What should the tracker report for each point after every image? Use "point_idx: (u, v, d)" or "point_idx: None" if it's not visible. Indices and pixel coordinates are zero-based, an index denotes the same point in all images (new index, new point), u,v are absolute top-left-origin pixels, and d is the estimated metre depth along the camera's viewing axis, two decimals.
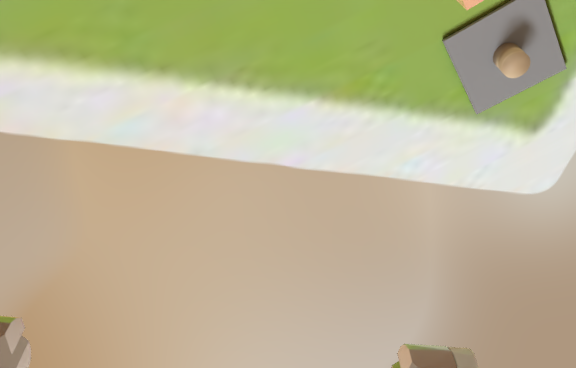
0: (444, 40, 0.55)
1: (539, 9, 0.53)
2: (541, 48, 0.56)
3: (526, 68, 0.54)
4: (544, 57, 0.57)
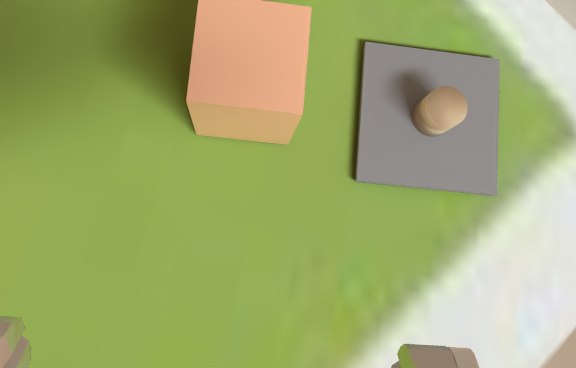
0: (356, 178, 0.36)
1: (394, 54, 0.38)
2: (450, 74, 0.38)
3: (460, 96, 0.35)
4: (465, 76, 0.38)
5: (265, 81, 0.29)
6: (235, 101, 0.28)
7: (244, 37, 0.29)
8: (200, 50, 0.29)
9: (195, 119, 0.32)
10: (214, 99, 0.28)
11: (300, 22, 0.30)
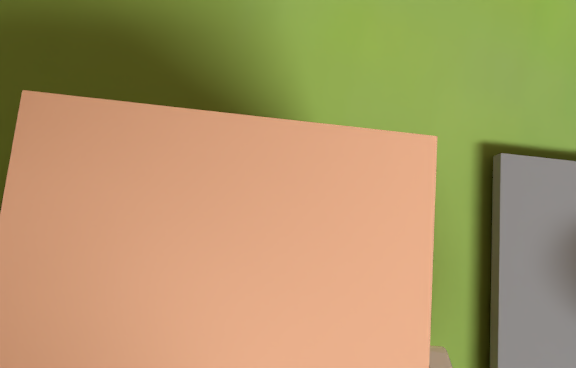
0: None
1: (566, 181, 0.17)
2: None
3: None
4: None
5: None
6: None
7: (192, 265, 0.08)
8: (14, 330, 0.07)
9: None
10: None
11: (400, 195, 0.08)
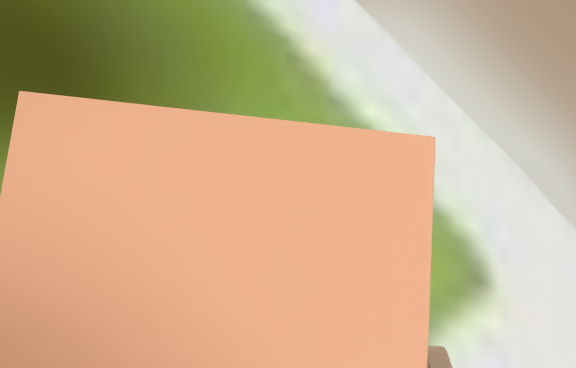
0: None
1: None
2: None
3: None
4: None
5: None
6: None
7: (189, 267, 0.08)
8: (11, 332, 0.07)
9: None
10: None
11: (398, 196, 0.08)
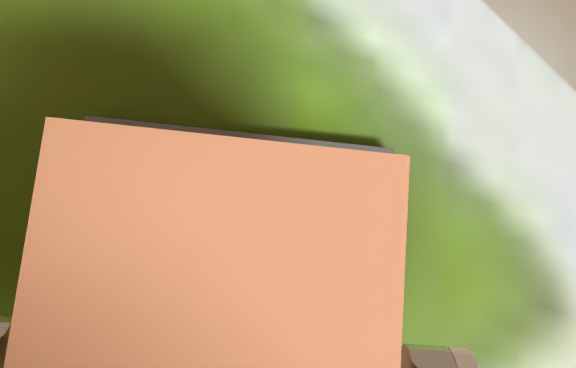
0: None
1: None
2: None
3: None
4: None
5: None
6: None
7: (194, 270, 0.09)
8: (41, 325, 0.08)
9: None
10: None
11: (376, 208, 0.09)
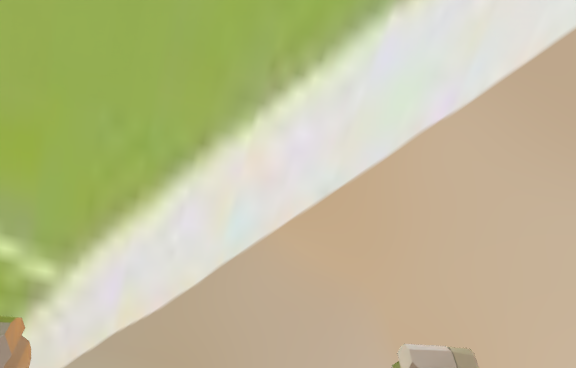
0: None
1: None
2: None
3: None
4: None
5: None
6: None
7: None
8: None
9: None
10: None
11: None
